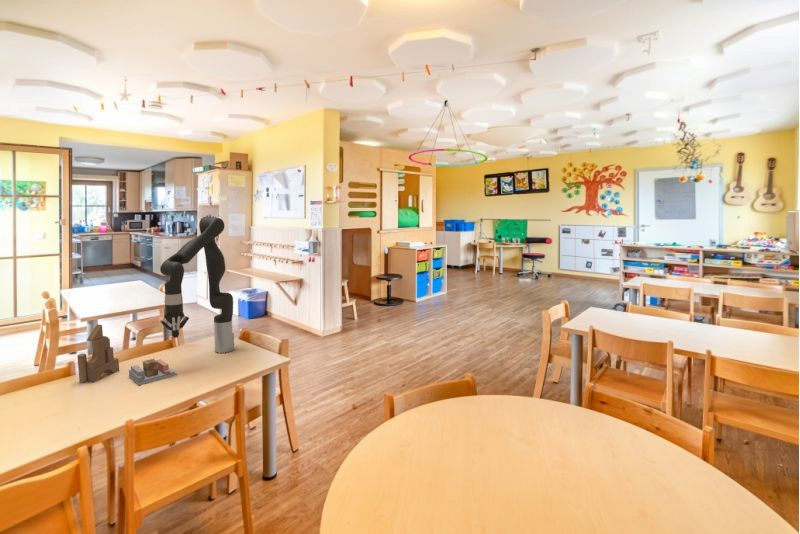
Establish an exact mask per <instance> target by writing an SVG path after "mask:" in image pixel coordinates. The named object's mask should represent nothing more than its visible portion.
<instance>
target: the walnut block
mask: <svg viewBox="0 0 800 534" xmlns="http://www.w3.org/2000/svg"><path fill="white" fill-rule="evenodd" d="M156 360H157V359H155V358H152V359H150V358H149V359H147V360H142V369H143V370H144V371H145V376H146V377H151V376H155V375H158V362H157V361H156Z"/></svg>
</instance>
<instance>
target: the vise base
mask: <svg viewBox="0 0 800 534" xmlns="http://www.w3.org/2000/svg"><path fill="white" fill-rule="evenodd" d="M169 370H170V373H167V374H163V373H161V372H160V371H159V370H158V375H155V376H151V377H146V376H145V371H144V370H143V367H140V365H138V364H134V365H131V366H130V369H128V377H129V378H130V379H131V380H132V381H133V382H134V383H136V385H138V386H143V385H146V384H151V383H153V382H157V381H161V380H164V379H167V378H173V377H175V376H178V372H176V371H175V370H174V369H172V368H171V367H169Z"/></svg>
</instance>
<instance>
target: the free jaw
mask: <svg viewBox="0 0 800 534" xmlns="http://www.w3.org/2000/svg"><path fill="white" fill-rule="evenodd" d="M155 360H156V361H157V362H158V370H159V371H160V372H161V373H163V374H167V373H170V370H169V368H170V365H169V364H168V363H167V362H165V361H164V360H162V359H155Z"/></svg>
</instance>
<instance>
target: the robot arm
mask: <svg viewBox="0 0 800 534" xmlns="http://www.w3.org/2000/svg"><path fill="white" fill-rule="evenodd" d="M198 226H199V232H200V234H199V235H197V236H196V237H194V238H191V239H190V240H189V241H187V242H186V243H184V244H183V246H181V248H180V249H178V251H177V252H176V253H174V254H172V255H171V256H170V257H168V258H167V259H166V260H164V261H163V262H162V263H161V265H160V273H161V275H164V276H167V277H169V280H168V281H166V282H165V283H164V311H165V313H164V314H165V315H164V318H163V319H160V320H159V323H160V324H161V325H162V326H164V328H165V329H166V330H168V331H171V337H173V338H174V339H177V338H179V336H180V329H183V328H184V327H185V325H186V324H187V322H188V321H189V319H190V317H189V316H186V315H185V313H184V305H183V304H184V303H183V301H184V300H183V292H182V283H183V280H184V274H185V268H184V267H185V266H184V265H186V264H188V263H190V262H191V260H192V259H194V257H195V256H196V255H197V254H199V252H200V251H201V250H202V249H204V250H203V251H204V256H205V257H204V258H205V266H206V272H207V278H208V289H209V290H208V291H209V293H208V294H209V296H208V297H209V304H210V306H211V308H212V309H216V310H221V312H220V313H219V314H217V315H215V316H214V317H213V327H214V352H215V353H217V352H218V353H217V354H226V353H230V352H232V351H234V350H235V333H234V332H233V315H234V297H233V294H232V293H229V292H221V289H220V287H221V286H220V285H221V280H222V278H223V277H224V274H225V273H226V261H225V257H224V254H223V252H222V251H221V249H220V248H219V246H218V244H217V243H216V239H215V238H217V237H219V235H221V234H222V233H223V232H224V230H225V221H224V220H223V219H222V218H220V217H214V216H203V217H202V218H200V221H199V225H198ZM168 323H169V325H168ZM233 349H234V350H233ZM225 352H226V353H225Z"/></svg>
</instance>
